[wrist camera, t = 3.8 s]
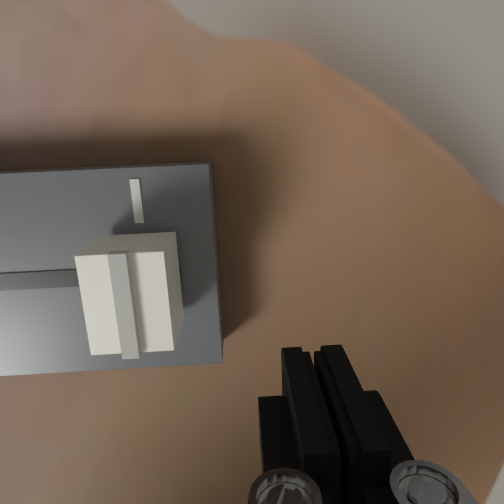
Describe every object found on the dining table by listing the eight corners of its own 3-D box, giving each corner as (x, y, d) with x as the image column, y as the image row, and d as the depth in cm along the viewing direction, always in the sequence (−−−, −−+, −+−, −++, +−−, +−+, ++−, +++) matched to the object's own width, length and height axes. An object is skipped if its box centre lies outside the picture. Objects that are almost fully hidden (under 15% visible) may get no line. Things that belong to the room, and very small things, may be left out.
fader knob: (183, 317, 24) (173, 356, 20) (114, 321, 24) (88, 361, 20) (175, 229, 23) (161, 251, 18) (101, 233, 22) (70, 256, 18)
